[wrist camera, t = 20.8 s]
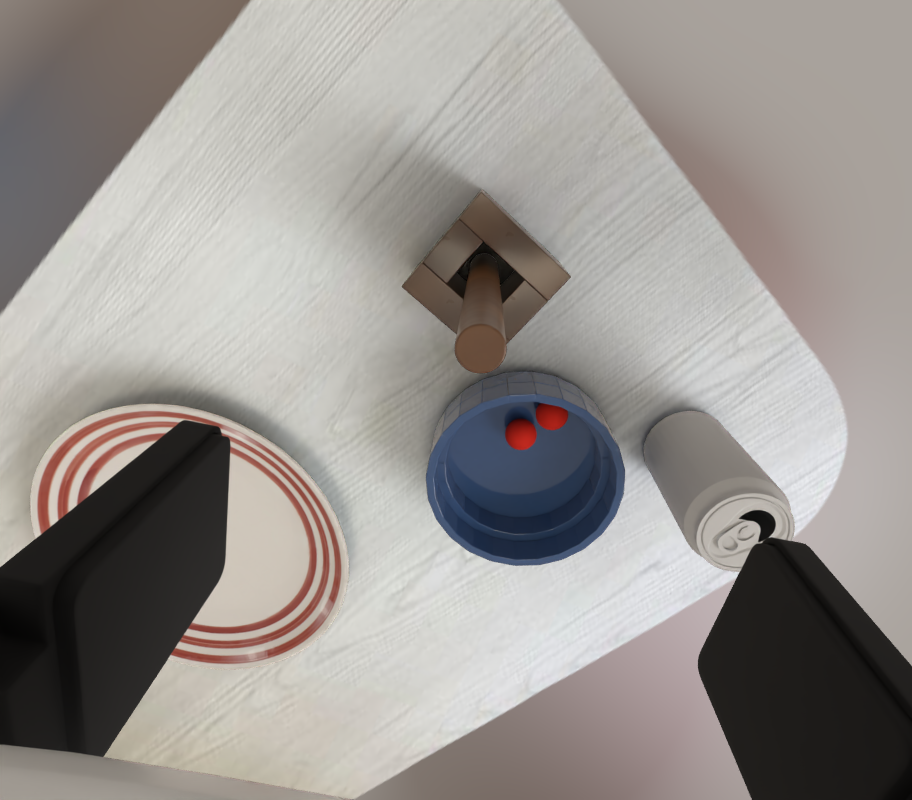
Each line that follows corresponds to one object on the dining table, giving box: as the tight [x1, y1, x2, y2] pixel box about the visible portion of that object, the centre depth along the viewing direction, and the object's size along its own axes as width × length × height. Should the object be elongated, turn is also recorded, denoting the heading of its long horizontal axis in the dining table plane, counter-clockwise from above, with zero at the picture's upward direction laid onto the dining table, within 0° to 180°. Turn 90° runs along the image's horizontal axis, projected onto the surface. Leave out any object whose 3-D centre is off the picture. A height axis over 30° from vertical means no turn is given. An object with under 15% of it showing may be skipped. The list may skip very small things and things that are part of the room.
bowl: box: [426, 371, 625, 566], centre depth 43 cm, size 14×14×6 cm
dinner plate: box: [30, 404, 349, 670], centre depth 48 cm, size 27×27×3 cm
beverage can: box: [643, 411, 795, 572], centre depth 39 cm, size 6×6×12 cm
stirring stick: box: [455, 253, 507, 373], centre depth 30 cm, size 2×2×20 cm
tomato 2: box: [536, 403, 568, 430], centre depth 42 cm, size 2×2×2 cm
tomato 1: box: [505, 419, 537, 450], centre depth 42 cm, size 2×2×2 cm
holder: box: [402, 189, 571, 344], centre depth 37 cm, size 7×7×6 cm
